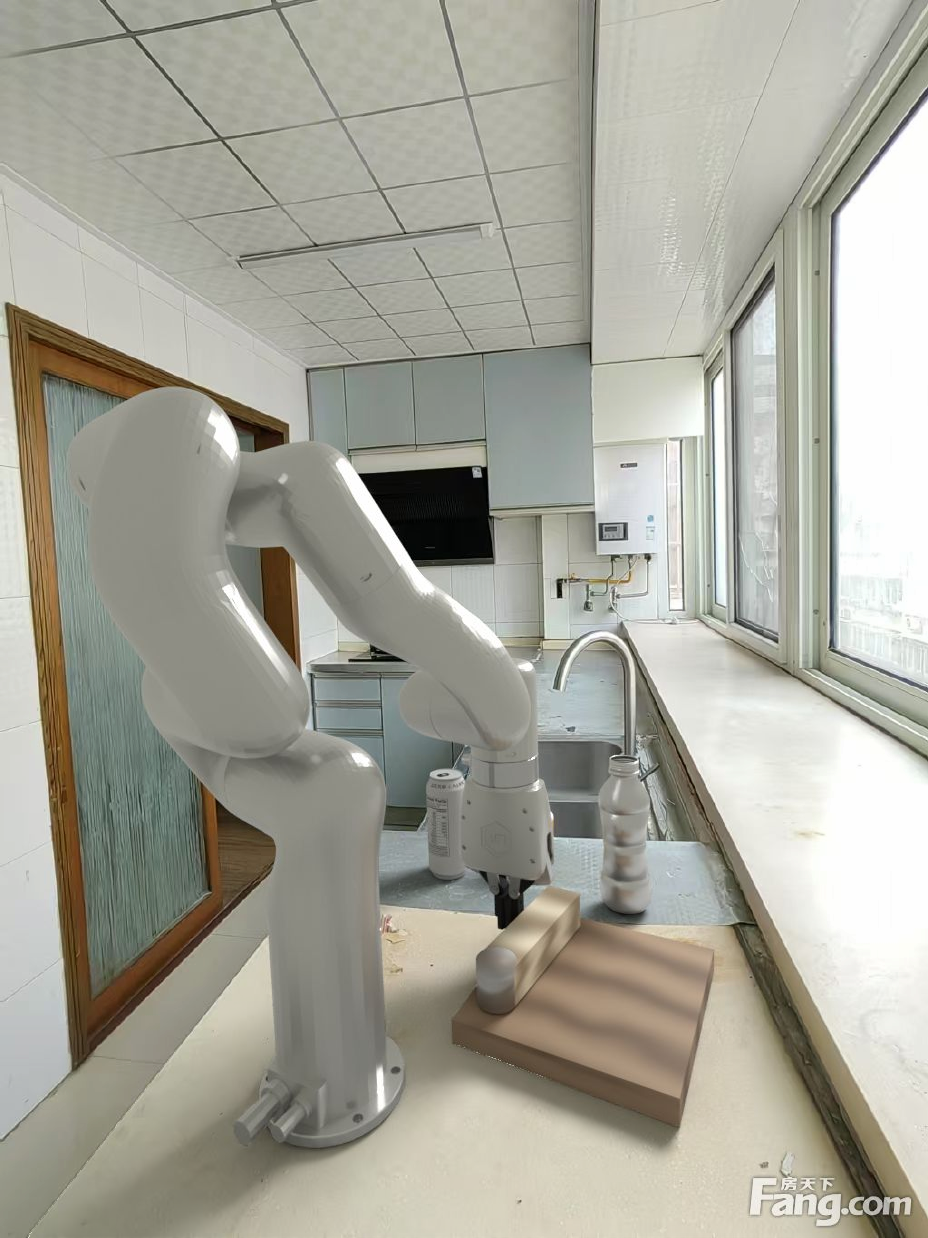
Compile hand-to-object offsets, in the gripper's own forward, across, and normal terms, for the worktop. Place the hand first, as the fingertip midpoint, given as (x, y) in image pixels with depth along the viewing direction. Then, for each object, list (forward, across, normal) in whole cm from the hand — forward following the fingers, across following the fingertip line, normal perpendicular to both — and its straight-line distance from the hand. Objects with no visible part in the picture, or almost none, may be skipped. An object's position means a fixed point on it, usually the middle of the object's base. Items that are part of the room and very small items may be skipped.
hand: (509, 924), depth 74 cm
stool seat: (+4, +11, -3) cm, 12 cm away
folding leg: (+2, +4, -3) cm, 5 cm away
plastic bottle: (+5, +9, +17) cm, 20 cm away
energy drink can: (+5, -17, +16) cm, 24 cm away
